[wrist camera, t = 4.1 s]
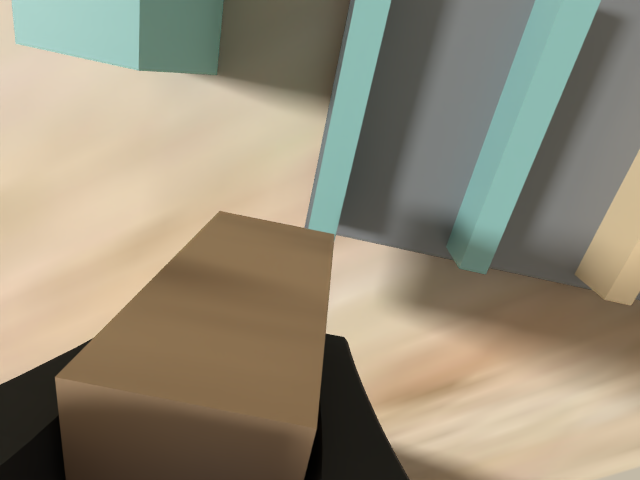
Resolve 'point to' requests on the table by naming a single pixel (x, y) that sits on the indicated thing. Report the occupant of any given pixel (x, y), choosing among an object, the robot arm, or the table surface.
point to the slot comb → (490, 137)
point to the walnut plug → (207, 363)
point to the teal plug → (126, 32)
